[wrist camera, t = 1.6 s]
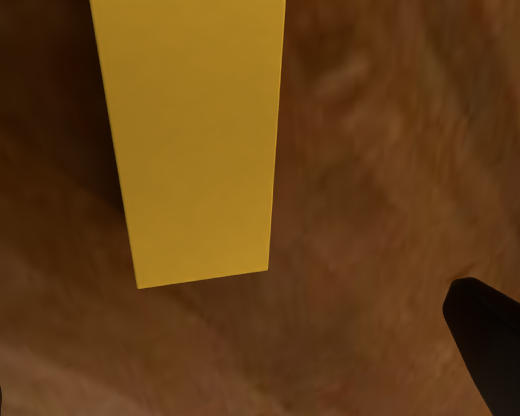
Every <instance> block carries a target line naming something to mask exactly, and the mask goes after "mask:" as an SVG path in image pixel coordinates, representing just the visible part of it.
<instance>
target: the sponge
mask: <svg viewBox="0 0 520 416" xmlns="http://www.w3.org/2000/svg"><path fill="white" fill-rule="evenodd" d="M89 1H90V7H91V13H92V19H93V25H94V31H95V37H96V43H97V49H98V55H99V61H100V67H101V73H102V79H103V85H104V91H105V97H106V103H107V109H108V115H109V121H110V127H111V133H112V139H113V145H114V151H115V157H116V164H117V170H118V176H119V182H120V188H121V194H122V200H123V206H124V212H125V218H126V224H127V230H128V236H129V242H130V248H131V254H132V260H133V266H134V272H135V278H136V284H137V288H138V289H140V288H147V287H154V286H161V285H168V284H175V283H182V282H189V281H196V280H202V279H209V278H216V277H223V276H230V275H237V274H244V273H251V272H258V271H265V270H268V259H269V244H270V229H271V214H272V198H273V183H274V168H275V153H276V138H277V123H278V108H279V93H280V78H281V63H282V48H283V33H284V18H285V3H286V0H89Z"/></svg>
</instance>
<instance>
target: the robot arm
mask: <svg viewBox="0 0 520 416" xmlns="http://www.w3.org/2000/svg"><path fill="white" fill-rule="evenodd" d="M443 315H444V318H445V320H446V322H447V325H448V327H449V329H450V331H451V333H452V336H453V338H454V340H455V342H456V344H457V347H458V349H459V351H460V353H461V355H462V358H463V360H464V362H465V364H466V366H467V369H468V371H469V373H470V375H471V377H472V379H473V381H474V383H475V385H476V387H477V388H478V390H479V392H480V394H481V396H482V397H483V399H484V401H485V403H486V404H487V406H488V408H489V409H490V411H491V413H492V415H493V416H520V303H519V302H517V301H515V300H513V299H512V298H510V297H508V296H506V295H504V294H503V293H501V292H499V291H497V290H496V289H494V288H492V287H490V286H488V285H487V284H485V283H483V282H481V281H480V280H478V279H476V278H473V277H467V278H461V279H456V280H454V281H453V282H452V283H451V286H450V288H449V291H448V293H447V296H446V298H445V301H444V303H443ZM1 403H2V393H1V387H0V415H1Z"/></svg>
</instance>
